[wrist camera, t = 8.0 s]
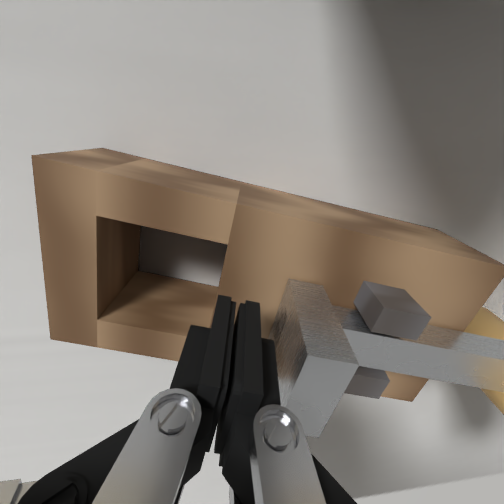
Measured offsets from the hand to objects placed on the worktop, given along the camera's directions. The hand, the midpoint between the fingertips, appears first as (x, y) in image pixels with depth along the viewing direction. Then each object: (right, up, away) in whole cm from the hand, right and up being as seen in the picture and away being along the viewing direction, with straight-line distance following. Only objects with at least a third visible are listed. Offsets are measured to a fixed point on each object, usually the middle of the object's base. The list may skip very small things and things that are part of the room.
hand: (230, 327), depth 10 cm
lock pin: (+8, -1, +2) cm, 8 cm away
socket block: (+1, +3, +6) cm, 7 cm away
